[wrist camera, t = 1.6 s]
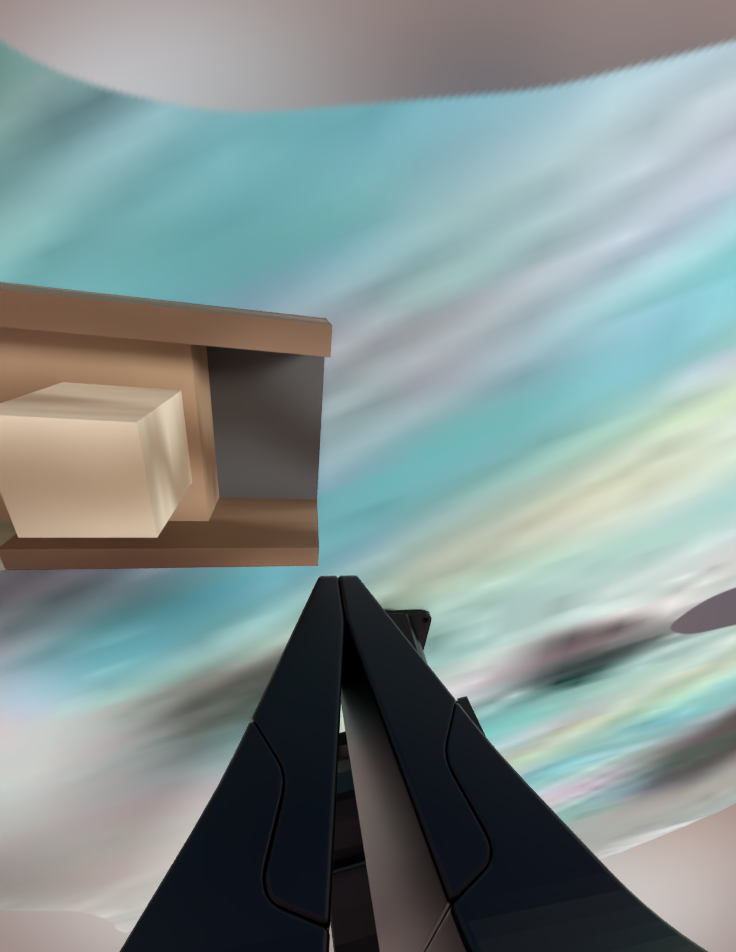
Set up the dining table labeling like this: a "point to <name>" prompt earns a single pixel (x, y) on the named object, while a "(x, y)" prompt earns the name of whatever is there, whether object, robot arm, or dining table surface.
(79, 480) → the birch block
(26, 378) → the trap box
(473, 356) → the dining table surface
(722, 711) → the dining table surface
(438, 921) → the robot arm
